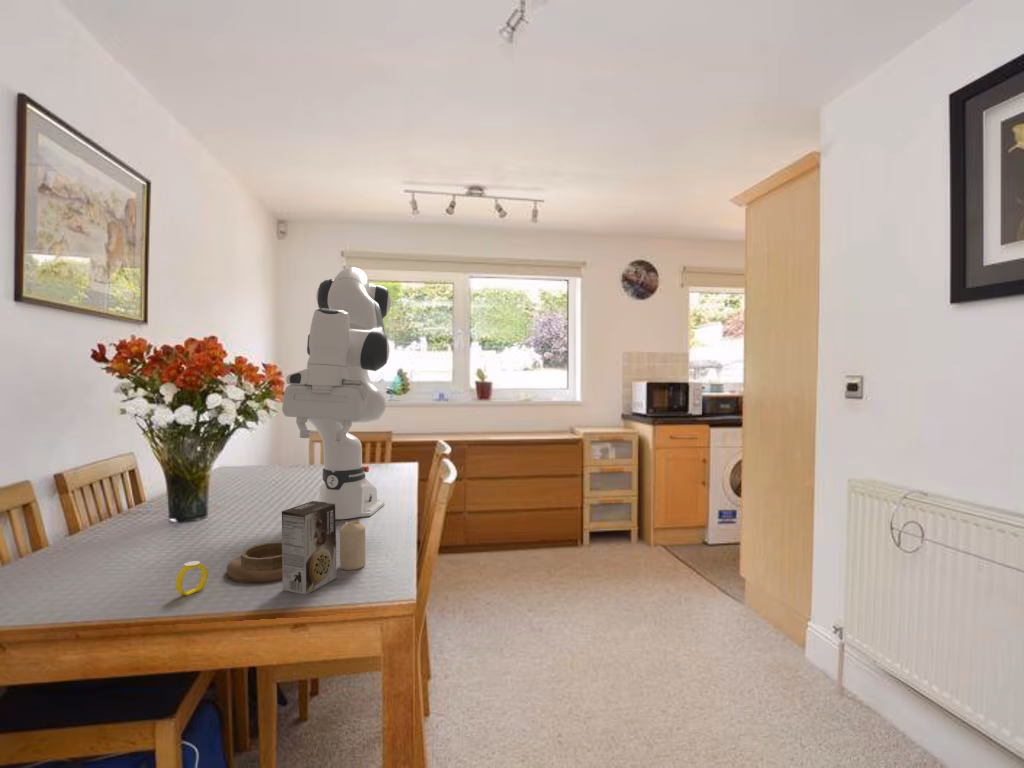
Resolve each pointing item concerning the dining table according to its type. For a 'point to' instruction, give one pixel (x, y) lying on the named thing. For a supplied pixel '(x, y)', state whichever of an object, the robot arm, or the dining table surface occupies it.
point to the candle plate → (252, 575)
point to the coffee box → (308, 546)
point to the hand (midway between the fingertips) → (322, 439)
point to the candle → (352, 545)
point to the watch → (181, 574)
